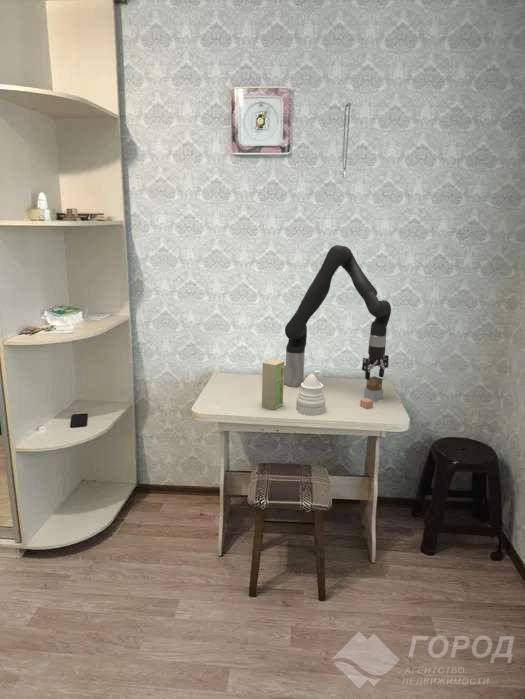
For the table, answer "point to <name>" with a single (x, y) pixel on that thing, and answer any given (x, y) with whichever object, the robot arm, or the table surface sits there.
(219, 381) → the table surface
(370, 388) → the walnut block
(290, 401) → the table surface
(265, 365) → the toy refrigerator
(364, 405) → the terracotta block
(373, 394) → the slate block
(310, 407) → the honey pot
